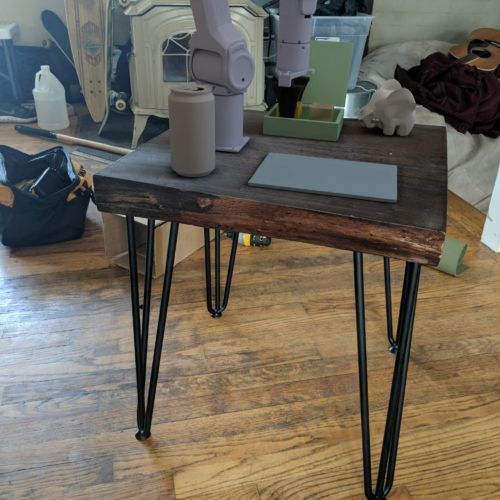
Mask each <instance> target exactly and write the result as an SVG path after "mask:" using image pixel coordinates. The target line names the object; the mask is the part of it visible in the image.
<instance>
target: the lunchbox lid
mask: <svg viewBox="0 0 500 500" xmlns="http://www.w3.org/2000/svg"><path fill="white" fill-rule="evenodd" d="M354 45H355V43H354V42H351V41H336V40H335V41H334V40H316V39H311V41H310V54H309V67H308V68H312V69H315V73H314V74H307V75H304V76H306V77H310V80H309V82H308V84H307V86H306V88H305V90H304V93H303V96H302V100H301V102H302V105H312V104H313V103H323V104H334V107H335V108H346V104H347V103H346V102H347V96H348V88H349V81H350V75H351V74H350V73H351V66H352V60H353V59H352V58H353V51H354ZM276 102H277V103H278V101H277V98H276Z"/></svg>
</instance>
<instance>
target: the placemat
mask: <svg viewBox="0 0 500 500" xmlns="http://www.w3.org/2000/svg"><path fill="white" fill-rule="evenodd" d="M247 186H250V187H258V188H259V187H260V188H265V189H273V190H274V189H275V190H283V191H291V192H300V193H306V194H307V193H308V194H314V195H315V194H317V195H324V196H334V197H341V198H349V199H358V200H367V201H374V202H382V203H391V204H397V201H398V165H396V164H395V165H394V164H384V163H375V162H366V161H357V160H347V159H337V158H326V157H319V156H311V155H309V156H308V155H299V154H289V153H281V152H271V151H270V152H269V153H268V154H267V155H266V157H265V158H264V160H263V161H262V162H261V163H260V165H259V166H258V168H257V169H256V170H255V172H254V173H253V175H252V176H251V178H250V179H249V180H248V182H247Z"/></svg>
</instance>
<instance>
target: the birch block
mask: <svg viewBox="0 0 500 500" xmlns="http://www.w3.org/2000/svg"><path fill="white" fill-rule="evenodd" d="M310 106H311V107H310V114H309V120H315V121H326V122H333V114H334V108H335V106H334V104H323V103H313V104H310Z"/></svg>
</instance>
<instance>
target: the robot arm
mask: <svg viewBox="0 0 500 500" xmlns="http://www.w3.org/2000/svg"><path fill="white" fill-rule="evenodd" d="M317 3H318V0H279V8H278V9H279V10H278V11H279V12H278V28H277V29H278V31H277V51H276V66H275V68H274V72H275V73H276V75H277V76H278V81H277V80H273V82H272V83H271V88H272V90H273V92H274V95H275V98H276V99H277V101H278V102H277V101H276V102H277V103H278V107H279V114H280V117H282V118H293V119H294V116H295V111H296V106H297V102H298V101H299V102H301V100H302V96H303V93H304V90H305V88H306V86H307V84H308V82H309V80H310V77H306V76H304V75H307V74H314V73H315V69H312V68H308V67H309V54H310V41H311V40H312V27H313V26H312V25H313V16H314V14H315V13H316V10H317ZM189 4H190V8H191V12H192V17H193V21H194V25H195V29H196V31H195V32H194V33H193V35H192V36H191V37H190V39H189V40H188V41H187V42H188V48H189V61H188V67H189V72H190V75H191V77H192V79H193V80H194V81H195V82H196V84H200V85H207V86H210V87H211V88H212V91H211V92H212V94H213V95H214V97H215V151H219V152H228V153H229V152H230V153H239V152H240V151H241V150H242V148H244V146H245V145H246V144H247V143H248V142H249V141H250V136H246V135H245V136H244V103H245V102H244V100H245V97H244V96H245V93H247V92H248V89H249V87H250V86H251V84H252V82H253V80H254V77H255V72H256V66H255V64H256V63H255V59H254V57H253V55H252V54H251V53H250V51H249V49H248V45H247V39H246V38H245V36H244V35H243V34H242V33H241V32H240V31H239V30H238V29H237V28H236V26H235V25H234V24H233V20H232V14H231V9H230V4H229V0H189Z"/></svg>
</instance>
